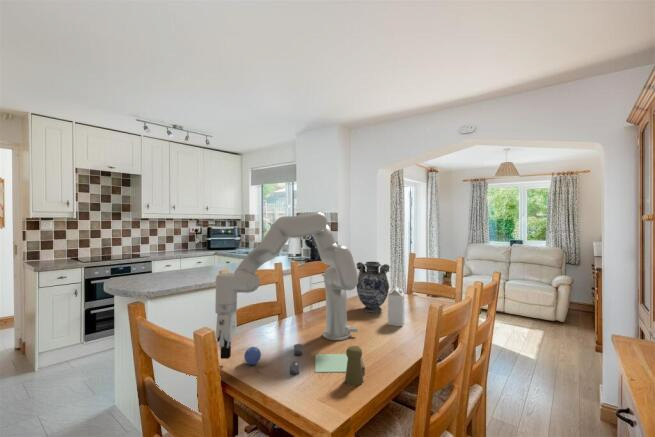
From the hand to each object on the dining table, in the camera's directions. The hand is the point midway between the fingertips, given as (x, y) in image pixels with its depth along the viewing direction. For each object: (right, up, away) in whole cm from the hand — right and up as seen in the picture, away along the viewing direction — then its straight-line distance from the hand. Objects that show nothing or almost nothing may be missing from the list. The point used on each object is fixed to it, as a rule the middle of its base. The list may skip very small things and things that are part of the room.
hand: (225, 357), depth 113 cm
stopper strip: (+49, -2, +1) cm, 49 cm away
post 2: (+26, -2, -7) cm, 27 cm away
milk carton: (+72, -3, +43) cm, 84 cm away
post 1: (+26, -2, +8) cm, 27 cm away
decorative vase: (+64, -3, +67) cm, 93 cm away
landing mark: (+40, -2, +1) cm, 40 cm away
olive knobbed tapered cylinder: (+46, -3, -12) cm, 48 cm away
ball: (+10, +1, 0) cm, 10 cm away
